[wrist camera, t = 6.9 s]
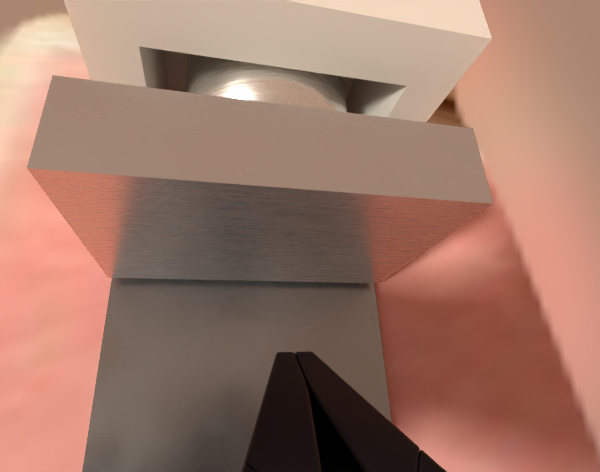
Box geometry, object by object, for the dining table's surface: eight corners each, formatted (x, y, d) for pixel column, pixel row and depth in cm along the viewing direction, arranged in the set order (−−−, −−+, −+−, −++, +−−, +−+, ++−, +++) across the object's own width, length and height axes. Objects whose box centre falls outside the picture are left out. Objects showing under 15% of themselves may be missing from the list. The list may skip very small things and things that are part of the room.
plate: (409, 605, 13) (415, 611, 13) (55, 670, 11) (50, 679, 10) (361, 207, 19) (364, 203, 19) (127, 191, 17) (125, 187, 17)
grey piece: (379, 283, 17) (493, 203, 10) (108, 277, 14) (26, 167, 8) (359, 135, 20) (437, 1, 13) (134, 110, 18) (93, -70, 11)
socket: (359, 207, 19) (491, 39, 10) (130, 192, 17) (48, -45, 8) (349, 127, 21) (454, -72, 12) (142, 103, 19) (89, -165, 10)
